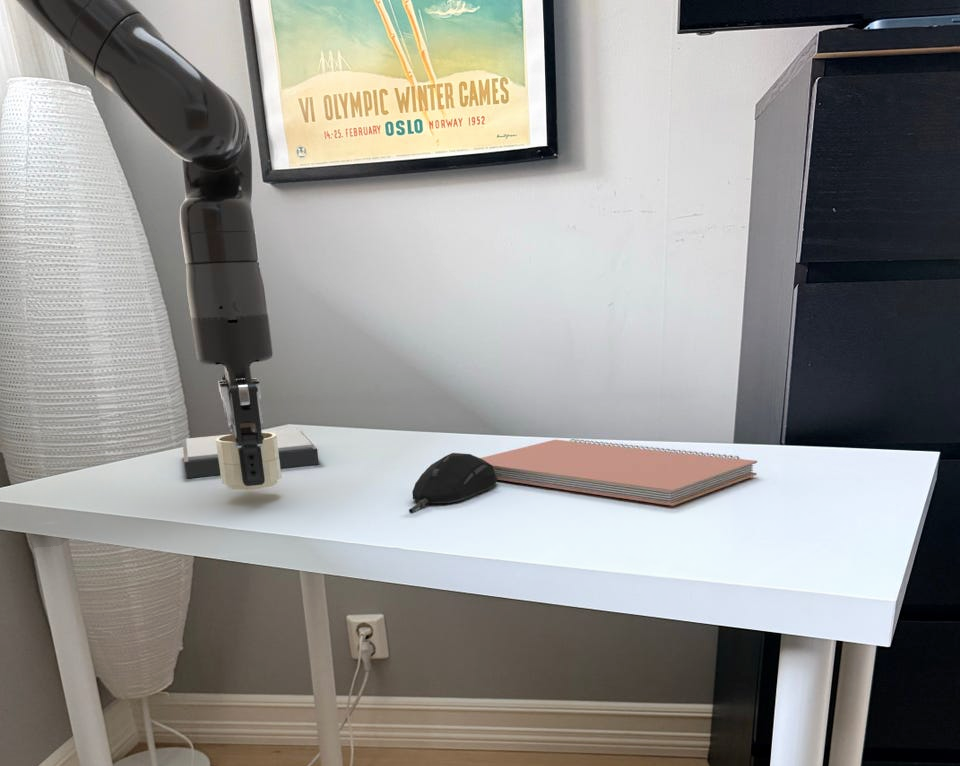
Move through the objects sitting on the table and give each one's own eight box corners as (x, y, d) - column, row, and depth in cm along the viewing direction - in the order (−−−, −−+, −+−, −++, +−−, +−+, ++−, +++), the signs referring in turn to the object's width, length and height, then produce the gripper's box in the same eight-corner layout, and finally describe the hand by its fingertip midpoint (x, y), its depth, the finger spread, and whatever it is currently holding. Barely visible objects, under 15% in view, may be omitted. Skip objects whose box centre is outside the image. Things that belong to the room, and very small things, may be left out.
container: (224, 493, 95) (216, 444, 93) (221, 481, 101) (214, 435, 99) (284, 486, 97) (279, 438, 95) (278, 476, 102) (273, 430, 101)
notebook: (761, 475, 98) (762, 456, 97) (672, 508, 87) (673, 487, 86) (560, 452, 116) (560, 435, 115) (466, 476, 104) (465, 459, 104)
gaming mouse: (383, 510, 92) (380, 470, 90) (457, 479, 104) (455, 443, 102) (438, 515, 89) (435, 473, 87) (507, 482, 101) (506, 445, 99)
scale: (186, 479, 112) (183, 458, 111) (185, 456, 126) (181, 438, 125) (319, 464, 116) (317, 444, 115) (302, 445, 130) (300, 427, 129)
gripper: (189, 312, 98) (212, 470, 104) (191, 316, 85) (218, 496, 91) (261, 308, 100) (280, 463, 106) (274, 312, 87) (295, 488, 93)
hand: (251, 477), depth 99 cm, fingers closed on container, 6 cm apart
